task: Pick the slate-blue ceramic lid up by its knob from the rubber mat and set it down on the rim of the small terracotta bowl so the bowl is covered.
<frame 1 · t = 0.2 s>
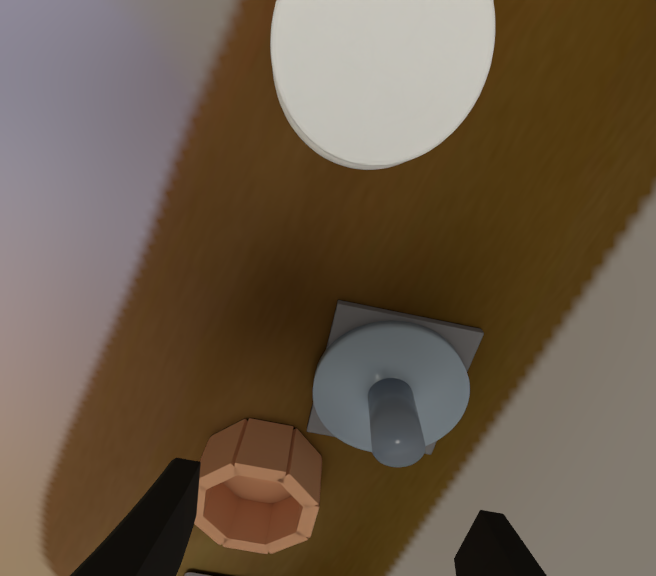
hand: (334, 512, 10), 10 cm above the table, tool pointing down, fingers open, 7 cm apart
supplement bottle: (363, 82, 15), on the table
mat: (387, 381, 20), on the table
lid: (388, 385, 20), resting on mat
bowl: (263, 463, 23), on the table
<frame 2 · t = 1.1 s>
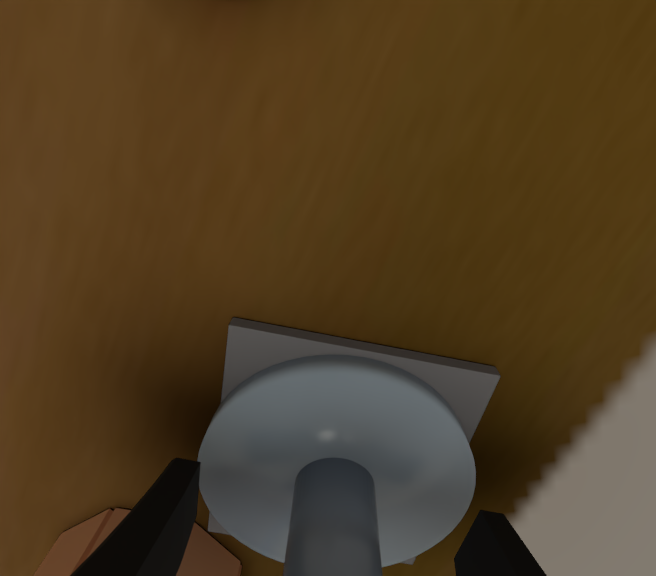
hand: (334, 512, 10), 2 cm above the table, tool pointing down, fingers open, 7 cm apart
mat: (335, 452, 12), on the table
lid: (335, 463, 11), resting on mat
bowl: (151, 571, 15), on the table
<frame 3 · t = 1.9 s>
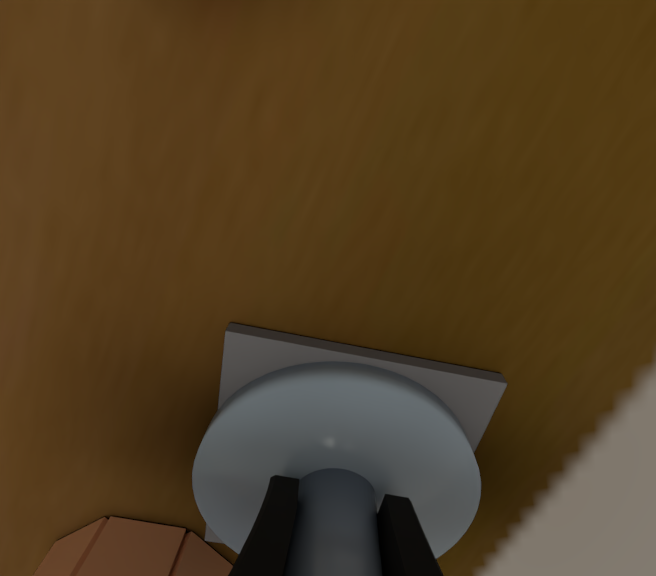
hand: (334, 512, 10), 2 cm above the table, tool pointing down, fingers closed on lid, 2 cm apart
mat: (336, 461, 11), on the table
lid: (335, 472, 11), resting on mat, touching gripper
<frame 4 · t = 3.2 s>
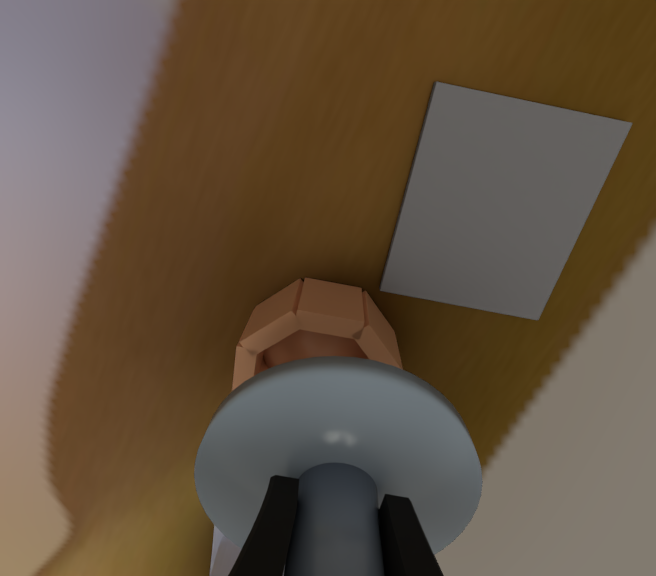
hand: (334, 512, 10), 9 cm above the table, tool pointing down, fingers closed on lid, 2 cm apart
mat: (489, 213, 15), on the table
lid: (336, 467, 11), point 7 cm above the table, touching gripper
bowl: (320, 345, 18), on the table
when the fingers open (5 cm above the table, at t = 4.3 s): lid stays where it is, resting on bowl.
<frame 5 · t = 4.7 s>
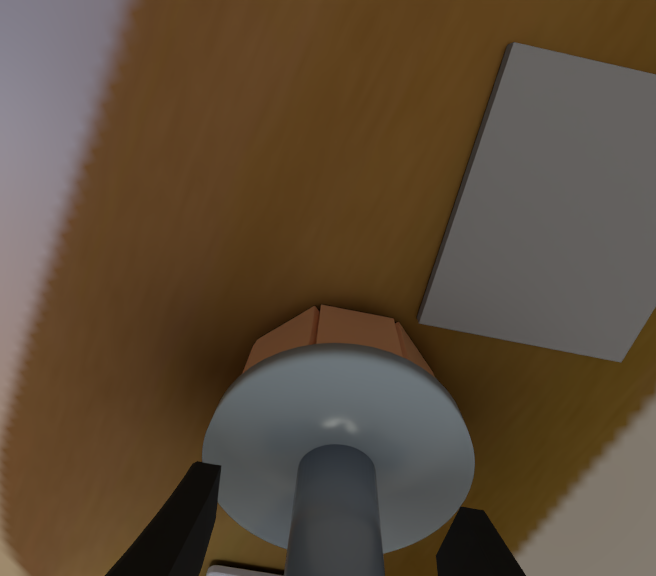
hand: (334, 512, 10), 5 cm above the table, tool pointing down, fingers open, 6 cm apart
mat: (568, 224, 12), on the table
lid: (337, 450, 12), point 3 cm above the table, touching bowl
bowl: (337, 388, 14), on the table
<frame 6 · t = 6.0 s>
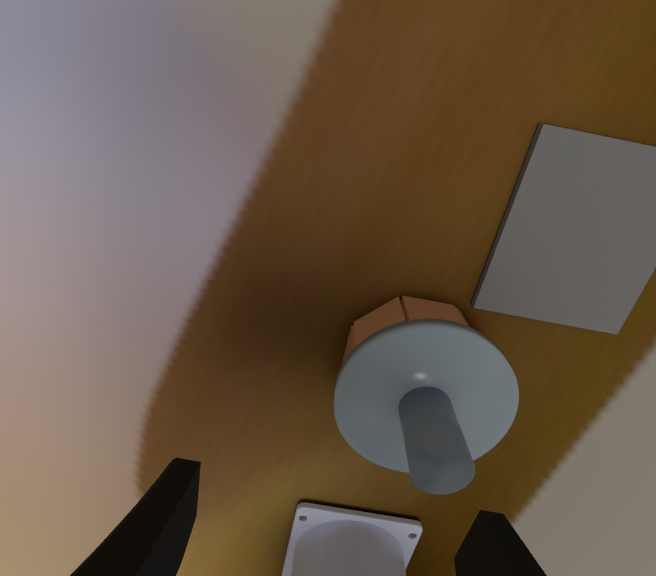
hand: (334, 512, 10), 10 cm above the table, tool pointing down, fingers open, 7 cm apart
mat: (579, 237, 17), on the table
lid: (421, 395, 17), point 3 cm above the table, touching bowl
bowl: (409, 357, 20), on the table
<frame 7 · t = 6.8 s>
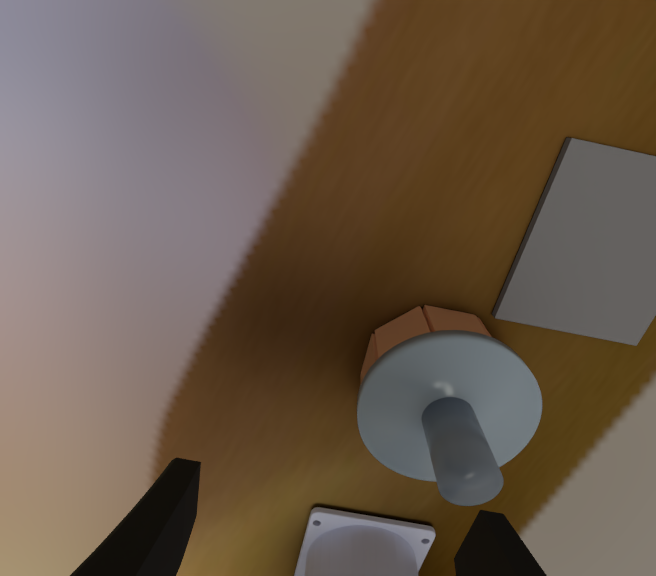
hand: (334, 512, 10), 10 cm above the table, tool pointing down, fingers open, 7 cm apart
mat: (601, 250, 17), on the table
lid: (443, 404, 17), point 3 cm above the table, touching bowl
bowl: (429, 365, 20), on the table
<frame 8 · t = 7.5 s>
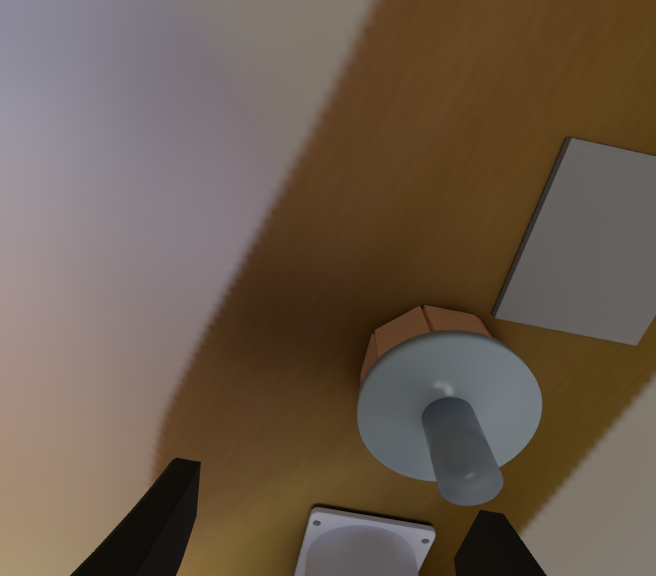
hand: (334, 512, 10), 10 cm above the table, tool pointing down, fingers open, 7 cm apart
mat: (601, 250, 17), on the table
lid: (443, 404, 17), point 3 cm above the table, touching bowl
bowl: (429, 365, 20), on the table
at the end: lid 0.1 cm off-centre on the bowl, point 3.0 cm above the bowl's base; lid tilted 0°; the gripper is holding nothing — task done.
